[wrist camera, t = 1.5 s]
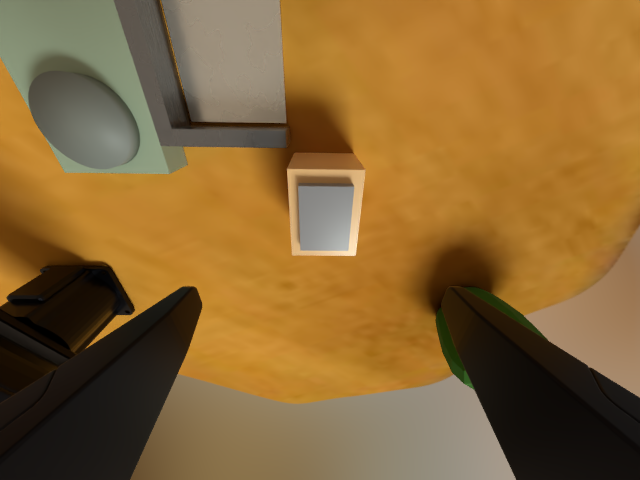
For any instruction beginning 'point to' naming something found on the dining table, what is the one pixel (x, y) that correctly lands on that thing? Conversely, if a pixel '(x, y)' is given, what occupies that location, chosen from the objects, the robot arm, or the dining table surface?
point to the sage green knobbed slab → (83, 86)
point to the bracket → (210, 69)
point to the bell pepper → (446, 337)
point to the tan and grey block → (325, 203)
